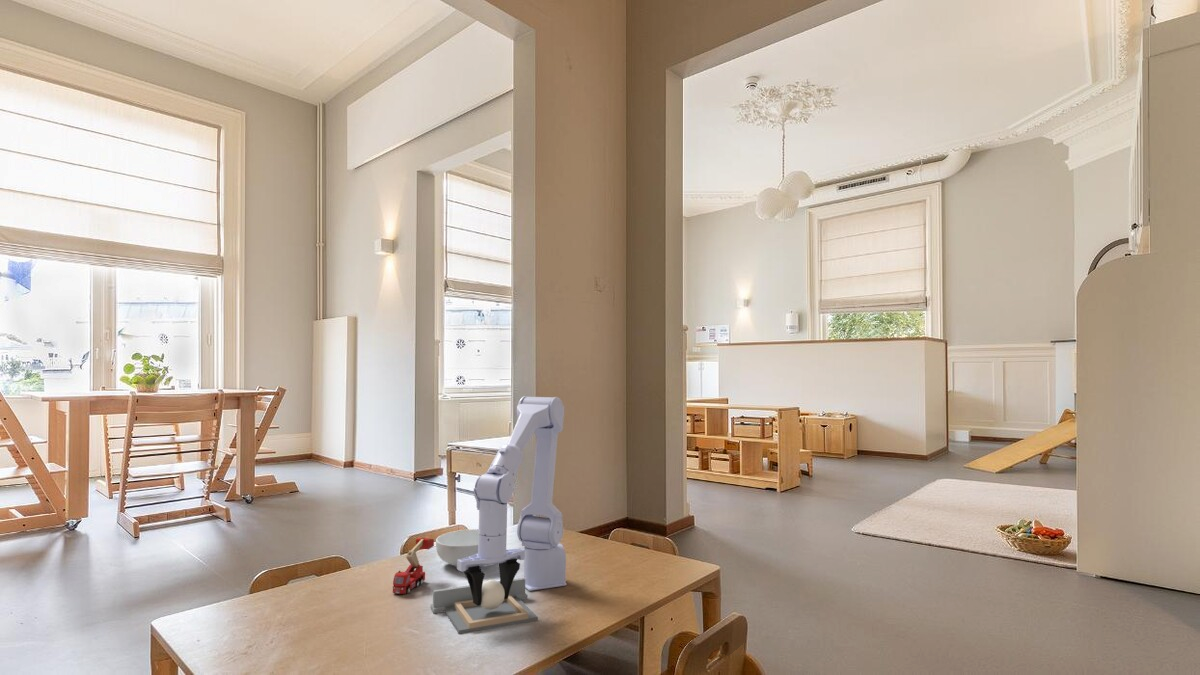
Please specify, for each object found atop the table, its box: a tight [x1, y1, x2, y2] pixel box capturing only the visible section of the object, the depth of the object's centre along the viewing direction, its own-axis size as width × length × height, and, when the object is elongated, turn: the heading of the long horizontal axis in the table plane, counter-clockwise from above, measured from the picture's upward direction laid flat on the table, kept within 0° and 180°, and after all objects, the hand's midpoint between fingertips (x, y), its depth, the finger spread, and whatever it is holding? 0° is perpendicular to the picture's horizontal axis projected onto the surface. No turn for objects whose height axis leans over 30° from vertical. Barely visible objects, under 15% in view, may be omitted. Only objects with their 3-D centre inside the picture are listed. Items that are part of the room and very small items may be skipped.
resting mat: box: [443, 594, 539, 635], centre depth 127 cm, size 16×12×2 cm
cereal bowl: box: [435, 528, 479, 568], centre depth 161 cm, size 17×17×7 cm
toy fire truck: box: [392, 537, 435, 595], centre depth 144 cm, size 3×14×10 cm, turn 168°
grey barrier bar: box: [430, 577, 529, 614], centre depth 133 cm, size 20×3×4 cm, turn 117°
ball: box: [481, 579, 505, 610], centre depth 127 cm, size 6×6×6 cm
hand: (490, 600), depth 127 cm, fingers closed on ball, 6 cm apart
